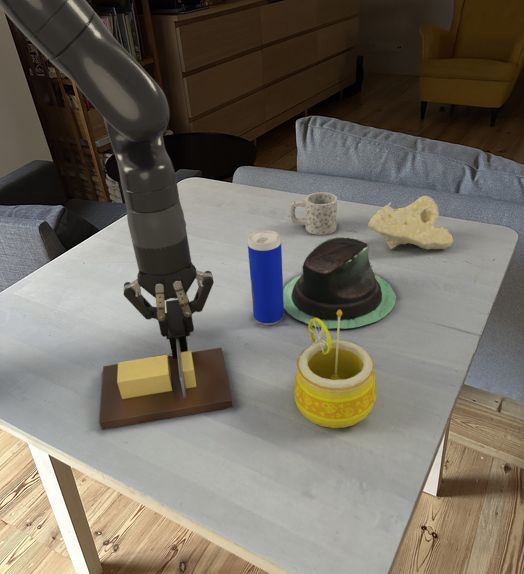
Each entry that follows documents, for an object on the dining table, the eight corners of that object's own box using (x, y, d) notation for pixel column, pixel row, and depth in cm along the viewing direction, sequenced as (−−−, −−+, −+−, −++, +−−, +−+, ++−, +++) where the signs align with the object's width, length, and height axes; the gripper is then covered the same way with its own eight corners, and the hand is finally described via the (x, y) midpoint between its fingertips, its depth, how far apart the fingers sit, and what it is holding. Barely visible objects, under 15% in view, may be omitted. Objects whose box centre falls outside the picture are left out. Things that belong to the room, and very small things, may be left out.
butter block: (122, 399, 75) (117, 382, 73) (122, 379, 78) (117, 362, 76) (172, 390, 75) (168, 373, 73) (170, 371, 79) (167, 354, 77)
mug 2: (374, 438, 68) (382, 366, 61) (289, 430, 70) (287, 359, 63) (375, 373, 78) (382, 304, 71) (301, 367, 80) (300, 300, 73)
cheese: (445, 241, 112) (395, 190, 111) (467, 227, 105) (414, 172, 104) (403, 289, 108) (351, 235, 107) (424, 277, 101) (368, 220, 100)
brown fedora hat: (307, 254, 105) (408, 274, 98) (274, 337, 99) (380, 364, 93) (293, 206, 92) (410, 224, 85) (255, 298, 86) (377, 327, 79)
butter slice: (185, 388, 76) (182, 371, 74) (183, 369, 79) (180, 352, 77) (196, 386, 76) (193, 369, 74) (193, 367, 79) (190, 350, 77)
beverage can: (261, 306, 93) (256, 227, 84) (288, 312, 92) (286, 232, 82) (248, 322, 90) (241, 241, 81) (276, 329, 88) (272, 247, 79)
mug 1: (338, 221, 118) (339, 192, 114) (334, 235, 113) (335, 205, 109) (293, 219, 120) (292, 191, 116) (287, 233, 115) (286, 203, 111)
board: (101, 430, 72) (98, 422, 71) (105, 373, 81) (103, 366, 81) (233, 407, 74) (232, 399, 73) (222, 354, 83) (221, 347, 83)
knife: (169, 321, 88) (165, 301, 85) (184, 319, 88) (180, 298, 86) (176, 399, 73) (171, 377, 71) (193, 396, 73) (189, 374, 71)
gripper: (106, 253, 69) (133, 356, 80) (212, 238, 71) (225, 342, 82) (108, 228, 75) (133, 328, 86) (206, 215, 77) (219, 314, 88)
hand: (178, 334), depth 84 cm, fingers closed on knife, 2 cm apart
